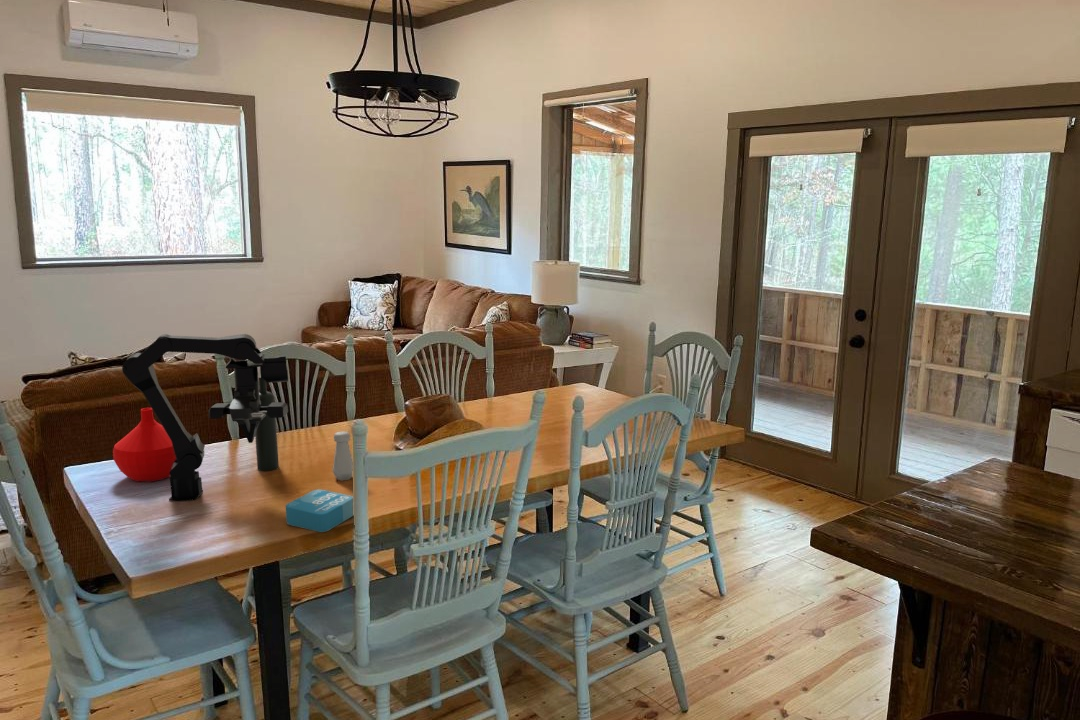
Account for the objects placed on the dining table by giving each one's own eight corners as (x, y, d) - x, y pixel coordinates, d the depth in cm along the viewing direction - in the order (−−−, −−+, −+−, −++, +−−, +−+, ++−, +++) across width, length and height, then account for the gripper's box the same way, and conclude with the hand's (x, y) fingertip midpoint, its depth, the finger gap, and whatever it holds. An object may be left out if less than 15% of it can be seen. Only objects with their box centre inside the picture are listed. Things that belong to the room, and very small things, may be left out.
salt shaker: (349, 482, 219) (346, 436, 216) (329, 480, 220) (327, 434, 218) (358, 475, 225) (356, 430, 222) (338, 474, 226) (336, 429, 223)
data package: (316, 488, 200) (356, 496, 195) (317, 505, 201) (357, 513, 196) (282, 505, 189) (323, 515, 184) (283, 523, 190) (324, 533, 185)
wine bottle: (254, 467, 231) (247, 364, 225) (274, 463, 235) (268, 362, 229) (261, 472, 227) (254, 367, 221) (281, 468, 230) (275, 365, 224)
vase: (119, 492, 211) (112, 421, 208) (112, 472, 226) (105, 406, 223) (194, 479, 221) (188, 411, 217) (182, 461, 236) (177, 398, 233)
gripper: (198, 391, 199) (203, 452, 202) (275, 390, 200) (279, 451, 203) (213, 381, 210) (218, 439, 213) (286, 380, 211) (290, 438, 214)
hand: (250, 442), depth 211 cm, fingers closed
